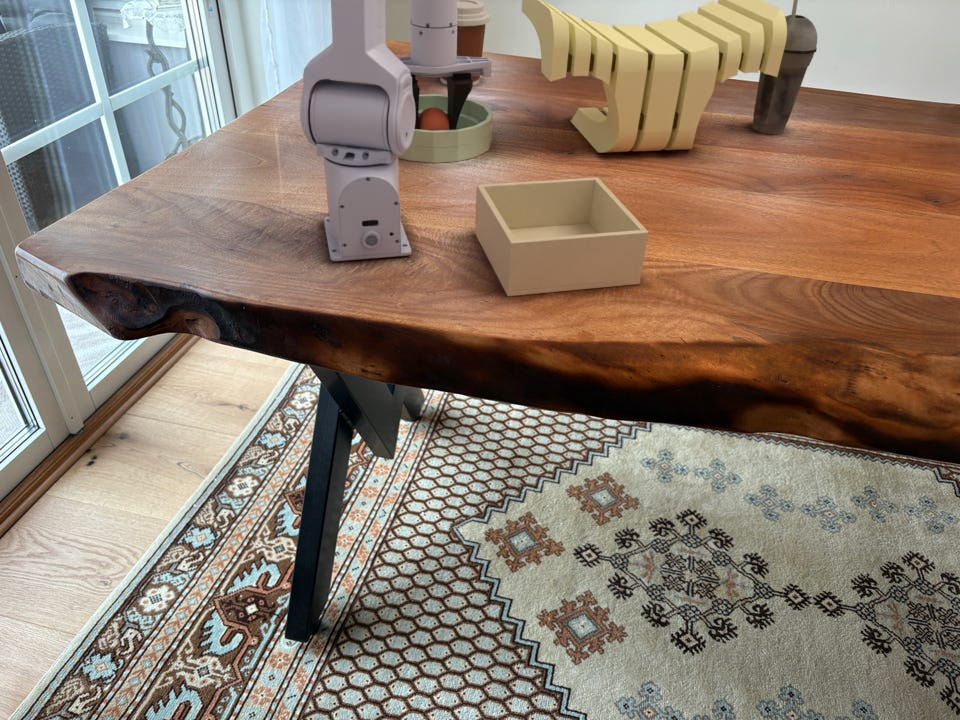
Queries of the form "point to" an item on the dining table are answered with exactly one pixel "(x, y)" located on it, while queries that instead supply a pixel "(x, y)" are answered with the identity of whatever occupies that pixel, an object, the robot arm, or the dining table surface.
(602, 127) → the slatted curved stool
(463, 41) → the coffee cup
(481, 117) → the bowl
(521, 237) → the bin
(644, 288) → the dining table surface
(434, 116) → the toy ball
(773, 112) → the beverage cup
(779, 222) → the dining table surface
